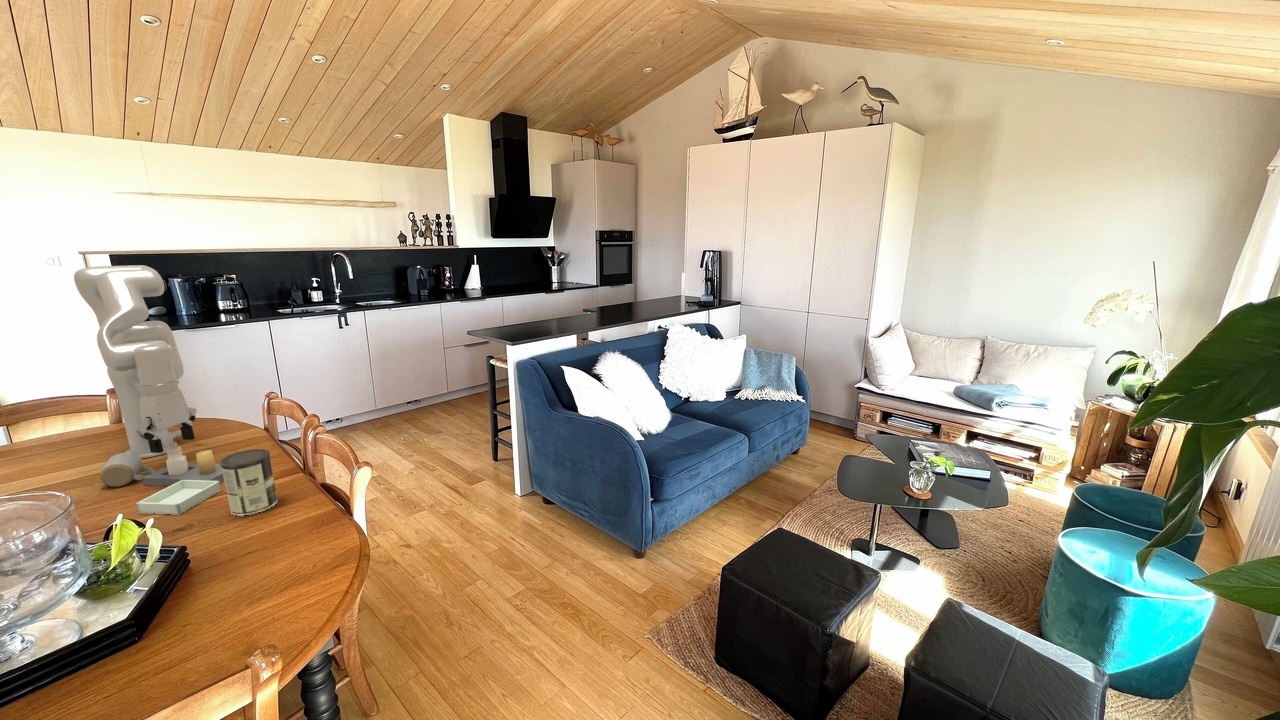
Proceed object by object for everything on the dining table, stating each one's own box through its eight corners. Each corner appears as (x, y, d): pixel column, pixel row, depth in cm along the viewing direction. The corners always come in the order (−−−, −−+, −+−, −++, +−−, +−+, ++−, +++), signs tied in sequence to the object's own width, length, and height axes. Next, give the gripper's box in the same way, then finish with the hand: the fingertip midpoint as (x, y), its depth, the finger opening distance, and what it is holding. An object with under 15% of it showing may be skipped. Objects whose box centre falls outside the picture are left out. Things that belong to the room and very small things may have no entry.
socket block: (176, 469, 158) (170, 444, 156) (239, 471, 156) (234, 446, 155) (144, 485, 148) (137, 458, 146) (211, 487, 147) (205, 460, 145)
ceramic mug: (101, 491, 144) (94, 465, 142) (110, 479, 151) (104, 454, 149) (152, 482, 150) (146, 458, 148) (158, 471, 156) (153, 448, 155)
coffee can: (259, 494, 143) (251, 446, 140) (287, 500, 140) (278, 451, 137) (219, 512, 134) (209, 461, 131) (248, 519, 131) (238, 468, 127)
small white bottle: (188, 478, 152) (181, 448, 150) (170, 482, 150) (163, 451, 147) (189, 473, 155) (183, 443, 153) (172, 476, 153) (165, 446, 151)
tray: (184, 489, 146) (182, 479, 145) (221, 490, 145) (219, 480, 144) (138, 513, 133) (135, 503, 132) (179, 515, 132) (176, 504, 132)
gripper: (176, 380, 154) (188, 434, 158) (115, 397, 138) (131, 457, 141) (200, 380, 154) (211, 434, 158) (142, 397, 137) (157, 458, 141)
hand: (173, 445), depth 149 cm, fingers open, 9 cm apart
